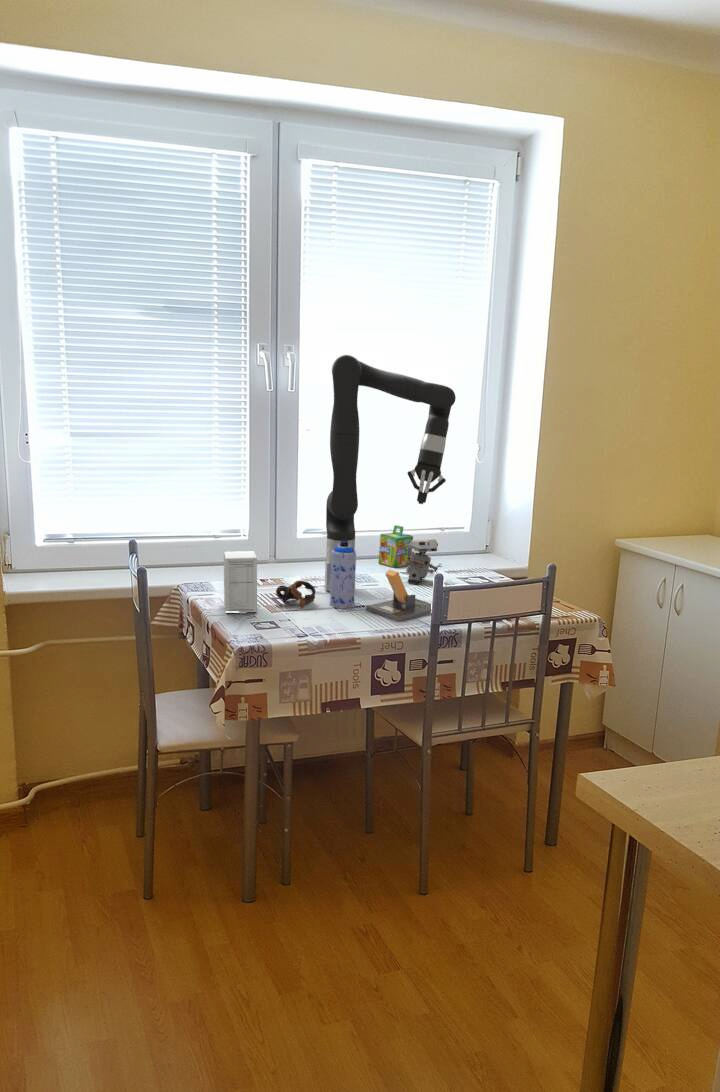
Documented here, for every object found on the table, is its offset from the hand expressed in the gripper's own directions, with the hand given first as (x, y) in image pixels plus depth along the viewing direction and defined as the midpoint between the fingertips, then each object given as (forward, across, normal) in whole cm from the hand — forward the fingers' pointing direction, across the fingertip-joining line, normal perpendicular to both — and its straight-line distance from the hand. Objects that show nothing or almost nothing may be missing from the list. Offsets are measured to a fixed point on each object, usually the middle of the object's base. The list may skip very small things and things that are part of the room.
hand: (420, 503), depth 256 cm
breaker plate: (+32, +1, -15) cm, 36 cm away
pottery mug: (+38, -32, -13) cm, 51 cm away
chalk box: (+26, -3, +46) cm, 53 cm away
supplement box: (+41, -46, -22) cm, 66 cm away
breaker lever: (+29, +1, -15) cm, 33 cm away
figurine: (+27, +7, +22) cm, 35 cm away
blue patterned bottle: (+35, -18, -11) cm, 41 cm away
